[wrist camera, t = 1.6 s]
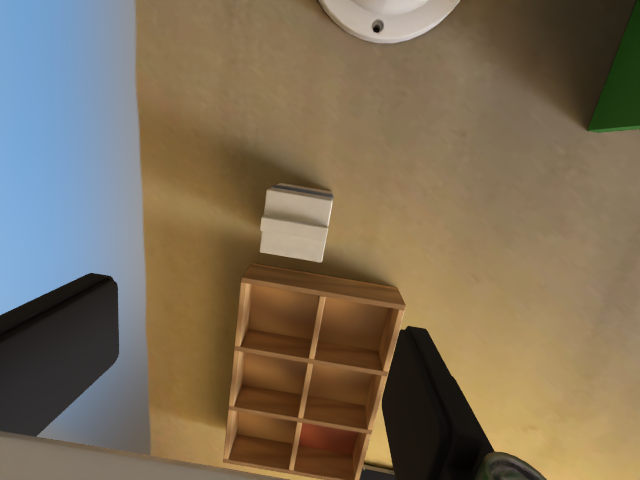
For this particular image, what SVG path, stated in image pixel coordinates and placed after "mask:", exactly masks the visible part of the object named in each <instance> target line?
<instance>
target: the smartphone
mask: <svg viewBox="0 0 640 480" xmlns="http://www.w3.org/2000/svg"><path fill="white" fill-rule="evenodd" d="M359 480H396V479H395V474H394V471H393V470H388V469H383V468H378V467H373V466H369V465H363V467H362V471H361V475H360V478H359Z"/></svg>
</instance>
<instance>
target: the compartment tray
mask: <svg viewBox="0 0 640 480" xmlns="http://www.w3.org/2000/svg"><path fill="white" fill-rule="evenodd" d="M405 307H406V305H405V303H404V301H403V298H402V296H401V294H400V292H399V290H398V288H396V287H390V286H385V285H379V284H373V283H367V282H361V281H355V280H349V279H344V278H338V277H332V276H326V275H320V274H314V273H308V272H303V271H297V270H291V269H285V268H279V267H273V266H267V265H262V264H256V263H252V264H251V266H250V267H249V268H248V270H247V271H246V272H245V274H244V275H243V276H242V278H241V287H240V298H239V308H238V318H237V328H236V338H235V348H234V358H233V368H232V378H231V388H230V398H229V409H228V419H227V429H226V439H225V449H224V459H223V462H224V463H230V464H236V465H242V466H248V467H253V468H259V469H265V470H271V471H277V472H283V473H288V474H294V475H300V476H306V477H312V478H318V479H323V480H359V478H360V475H361V471H362V467H363V463H364V460H365V456H366V452H367V449H368V445H369V441H370V437H371V434H372V430H373V426H374V422H375V419H376V415H377V411H378V407H379V404H380V400H381V396H382V393H383V389H384V385H385V381H386V378H387V374H388V370H389V366H390V363H391V359H392V355H393V351H394V348H395V344H396V340H397V337H398V333H399V329H400V325H401V322H402V318H403V314H404V310H405Z"/></svg>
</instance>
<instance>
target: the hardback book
mask: <svg viewBox="0 0 640 480" xmlns="http://www.w3.org/2000/svg"><path fill="white" fill-rule="evenodd" d="M634 129H640V0H637V1H636V4H635V6H634V9H633V12H632V14H631V17H630V20H629V22H628V25H627V27H626V30H625V33H624V35H623V38H622V41H621V43H620V46H619V48H618V51H617V54H616V56H615V59H614V62H613V64H612V67H611V69H610V72H609V75H608V77H607V80H606V83H605V85H604V88H603V90H602V93H601V96H600V98H599V101H598V104H597V106H596V109H595V111H594V114H593V117H592V119H591V122H590V124H589V127H588V130H587V131H592V132H598V133H599V132H611V131H622V130H634Z"/></svg>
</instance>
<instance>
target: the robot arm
mask: <svg viewBox="0 0 640 480" xmlns="http://www.w3.org/2000/svg"><path fill="white" fill-rule="evenodd" d="M318 1H319V2H320V4H321V6H322V8H323V9H324V11H325V12H326V13H327V14H328V15H329V17H330V18H331V19H332V20H333V21H334V22H335V23H336V24H337V25H338V26H340V27H341V28H342V29H344V30H345V31H346V32H348V33H349V34H351V35H353V36H356V37H358V38H360V39H362V40H366V41H370V42H375V43H397V42H402V41H406V40H410V39H412V38H415V37H417V36H419V35H422V34H424V33H426V32H427V31H429V30H430V29H432V28H433V27H435V26H436V25H438V24H439V23H440V22H441V21H442V20H443V19H444V18H445V17H446V16H447V15H448V14H449V13H450V12H451V11H452V10H453V9H454V8H455V7H456V5H457V4H458V3H459V2H460V0H318ZM375 27H377V28H378V29H379V32H378V33H375V32H374V31H373V28H375ZM118 355H119V330H118V287H117V283H116V282H115V281H114V280H113V278H112V277H111V276H106V275H101V274H94V273H90V274H87V275H85V276H83V277H81V278H78V279H77V280H74V281H72V282H70V283H68V284H66V285H63V286H61V287H59V288H57V289H55V290H53V291H51V292H49V293H47V294H44V295H42V296H40V297H38V298H36V299H34V300H32V301H30V302H27V303H26V304H23V305H21V306H19V307H17V308H15V309H13V310H11V311H8V312H6V313H4V314H2V315H0V480H289V479H283V478H277V477H272V476H266V475H260V474H254V473H249V472H243V471H237V470H232V469H226V468H220V467H214V466H208V465H202V464H197V463H191V462H185V461H179V460H173V459H167V458H161V457H155V456H149V455H143V454H137V453H131V452H125V451H119V450H113V449H107V448H101V447H95V446H89V445H84V444H77V443H71V442H64V441H59V440H53V439H46V438H40V437H36V436H37V435H38V434H39V433H40V432H41V431H43V430H44V429H45V428H46V427H47V426H48V425H49V424H50V423H51V422H52V421H53V420H54V419H55V418H56V417H57V416H59V414H61V413H62V412H63V411H64V410H65V409H66V408H67V407H68V406H69V405H70V404H71V403H72V402H73V401H74V400H76V399H77V398H78V397H79V396H80V395H81V394H82V393H83V392H84V391H85V390H86V389H87V388H88V387H89V386H91V385H92V384H93V383H94V382H95V381H96V380H97V379H98V378H99V377H100V376H101V375H102V374H103V373H105V372H106V371H107V370H108V369H109V368H110V367H111V366H112V365H113V364H114V363H115V361H116V360H117V358H118ZM382 411H383V416H384V422H385V427H386V432H387V437H388V443H389V448H390V453H391V458H392V464H393V469H394V474H395V479H396V480H547V479H546V478H545V477H544V476H543V475H542V474H541V473H540V472H538V471H537V470H536V469H535V468H533V467H532V466H531V465H529V464H528V463H526V462H525V461H523V460H521V459H519V458H517V457H516V456H513V455H510V454H507V453H504V452H495V451H494V450H493V448H492V446H491V444H490V442H489V440H488V439H487V437H486V435H485V433H484V431H483V429H482V428H481V426H480V424H479V422H478V420H477V418H476V417H475V415H474V413H473V411H472V409H471V407H470V406H469V404H468V402H467V400H466V398H465V396H464V395H463V393H462V391H461V389H460V387H459V385H458V384H457V382H456V380H455V379H454V377H453V376H451V374H450V372H449V370H448V369H447V367H446V365H445V363H444V361H443V359H442V357H441V356H440V354H439V352H438V350H437V348H436V346H435V344H434V342H433V341H432V339H431V337H430V335H429V333H428V331H427V330H426V329H423V328H417V327H411V326H408V327H407V328H406V329H405V330H402V329H401V330H400V332H399V336H398V340H397V343H396V347H395V351H394V355H393V359H392V362H391V366H390V370H389V374H388V378H387V381H386V385H385V389H384V393H383V397H382Z"/></svg>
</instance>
